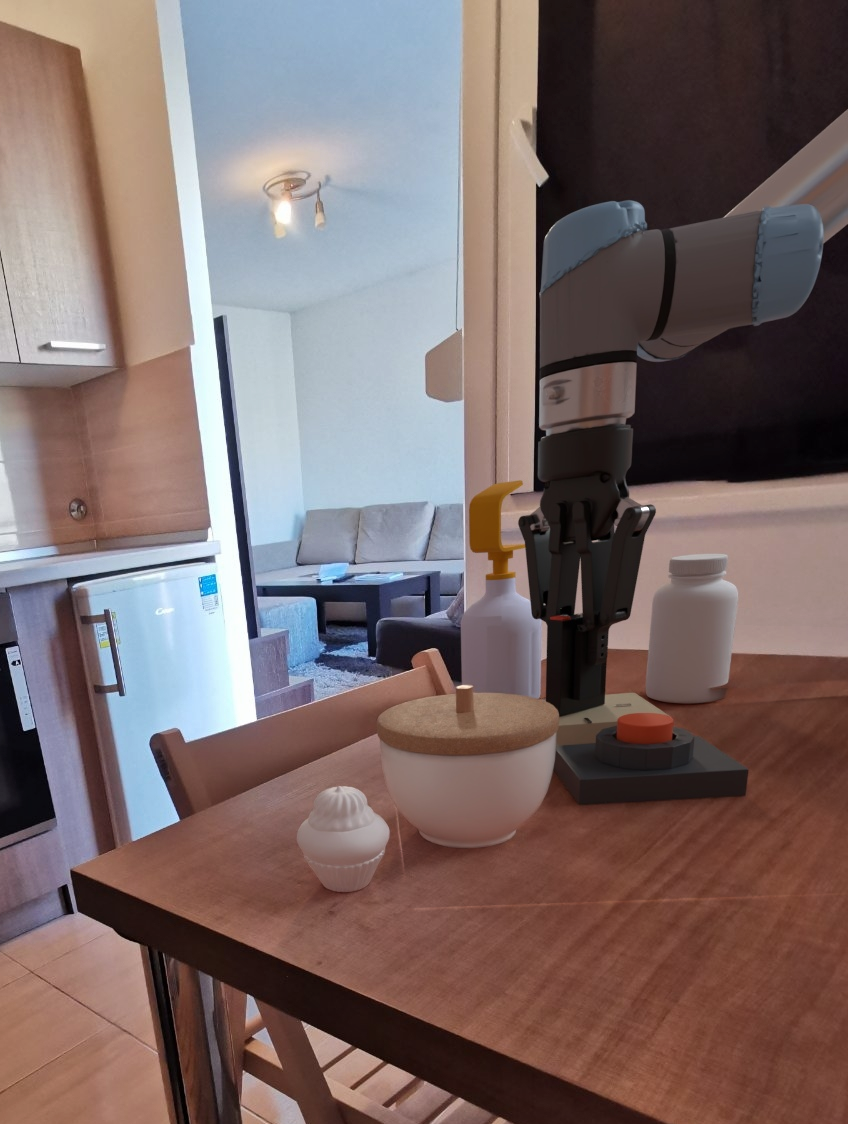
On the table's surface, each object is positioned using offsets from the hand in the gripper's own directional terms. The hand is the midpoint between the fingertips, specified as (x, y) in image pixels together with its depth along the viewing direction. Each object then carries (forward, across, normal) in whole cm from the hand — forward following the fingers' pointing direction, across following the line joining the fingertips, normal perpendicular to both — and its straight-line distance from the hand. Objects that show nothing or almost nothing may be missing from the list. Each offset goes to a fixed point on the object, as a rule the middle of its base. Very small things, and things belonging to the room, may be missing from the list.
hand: (575, 694), depth 74 cm
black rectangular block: (+1, 0, 0) cm, 1 cm away
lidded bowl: (+5, +10, -22) cm, 25 cm away
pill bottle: (+5, -2, +20) cm, 20 cm away
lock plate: (+4, 0, 0) cm, 4 cm away
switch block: (+4, +12, -6) cm, 14 cm away
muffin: (+5, +12, -34) cm, 37 cm away
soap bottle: (+5, -17, +7) cm, 19 cm away
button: (+1, +12, -6) cm, 13 cm away
